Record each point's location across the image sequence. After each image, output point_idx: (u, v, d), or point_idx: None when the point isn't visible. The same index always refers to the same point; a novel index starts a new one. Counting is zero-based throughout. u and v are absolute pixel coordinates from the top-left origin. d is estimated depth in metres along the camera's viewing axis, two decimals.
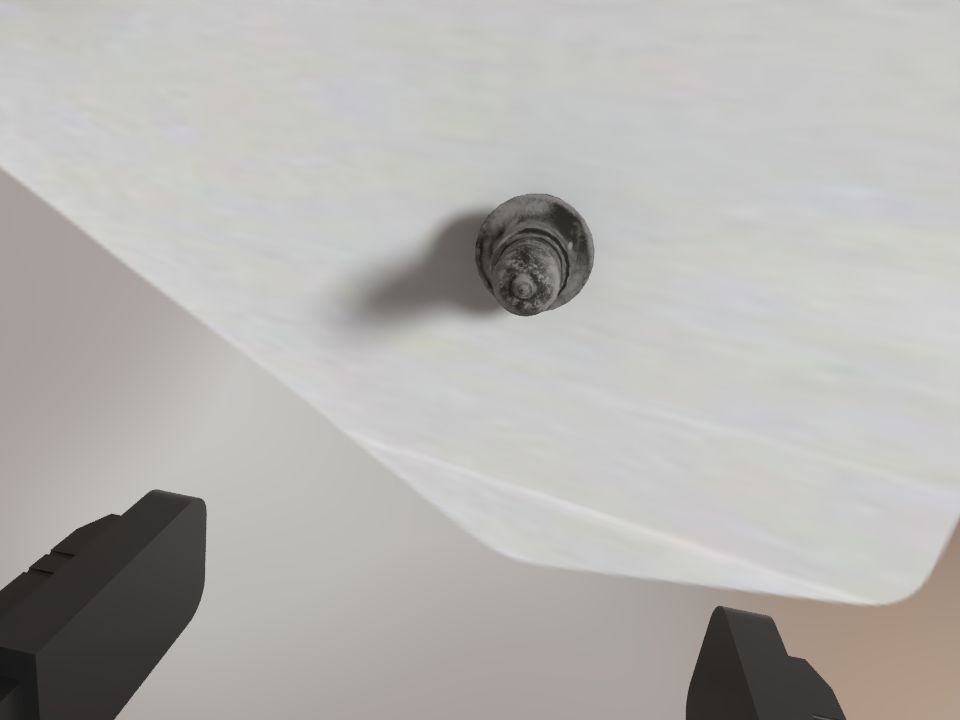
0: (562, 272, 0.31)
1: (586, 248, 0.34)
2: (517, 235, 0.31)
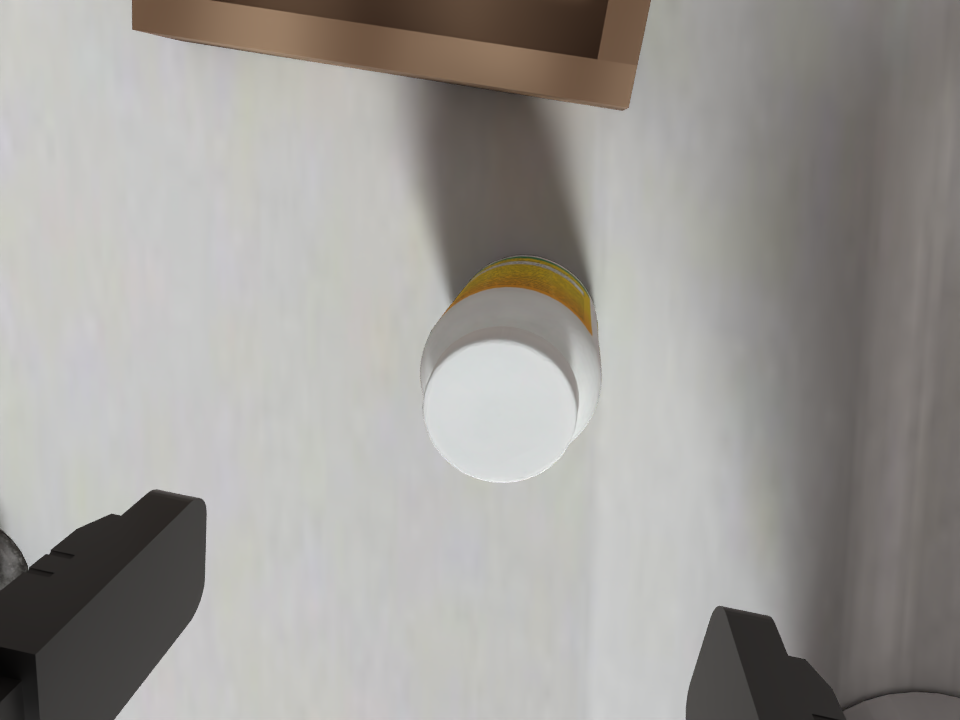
0: None
1: None
2: None
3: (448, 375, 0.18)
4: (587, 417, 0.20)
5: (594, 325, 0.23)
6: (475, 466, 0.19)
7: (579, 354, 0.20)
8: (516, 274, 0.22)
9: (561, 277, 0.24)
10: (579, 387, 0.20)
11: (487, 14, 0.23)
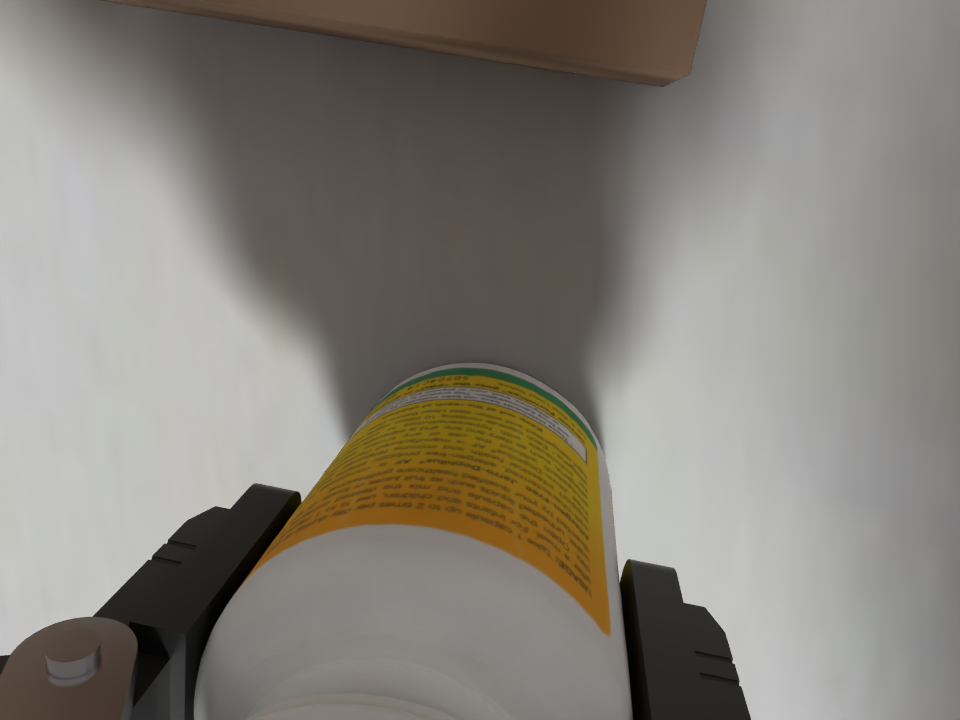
0: None
1: None
2: None
3: None
4: None
5: (610, 544, 0.11)
6: None
7: None
8: (437, 449, 0.10)
9: (540, 430, 0.12)
10: None
11: None
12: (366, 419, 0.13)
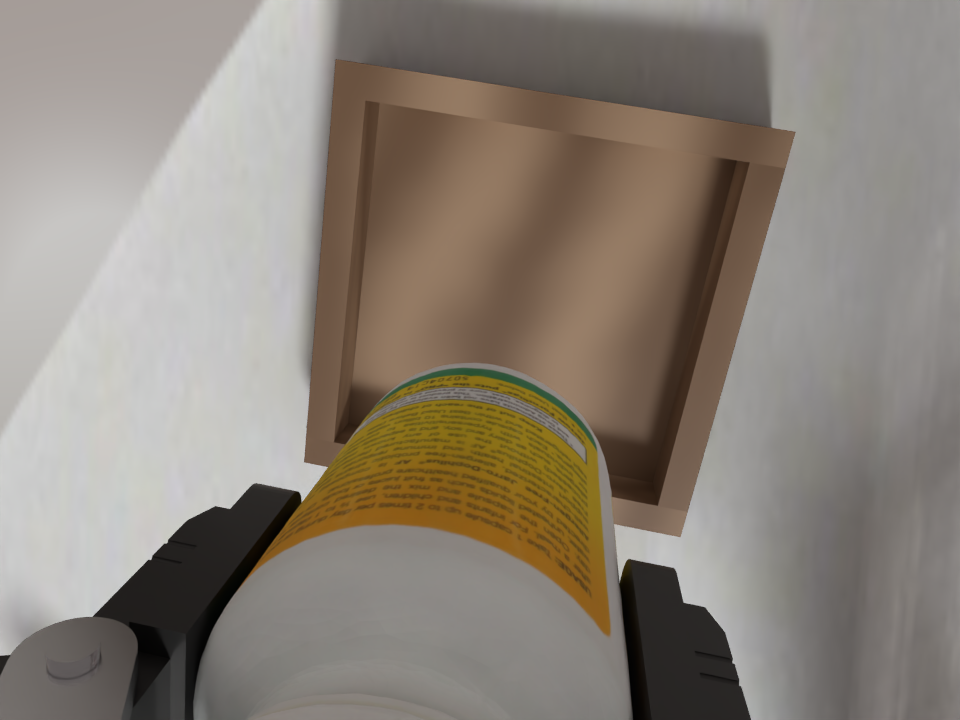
0: None
1: None
2: None
3: None
4: None
5: (609, 544, 0.11)
6: None
7: None
8: (437, 449, 0.10)
9: (540, 430, 0.12)
10: None
11: None
12: (366, 419, 0.13)
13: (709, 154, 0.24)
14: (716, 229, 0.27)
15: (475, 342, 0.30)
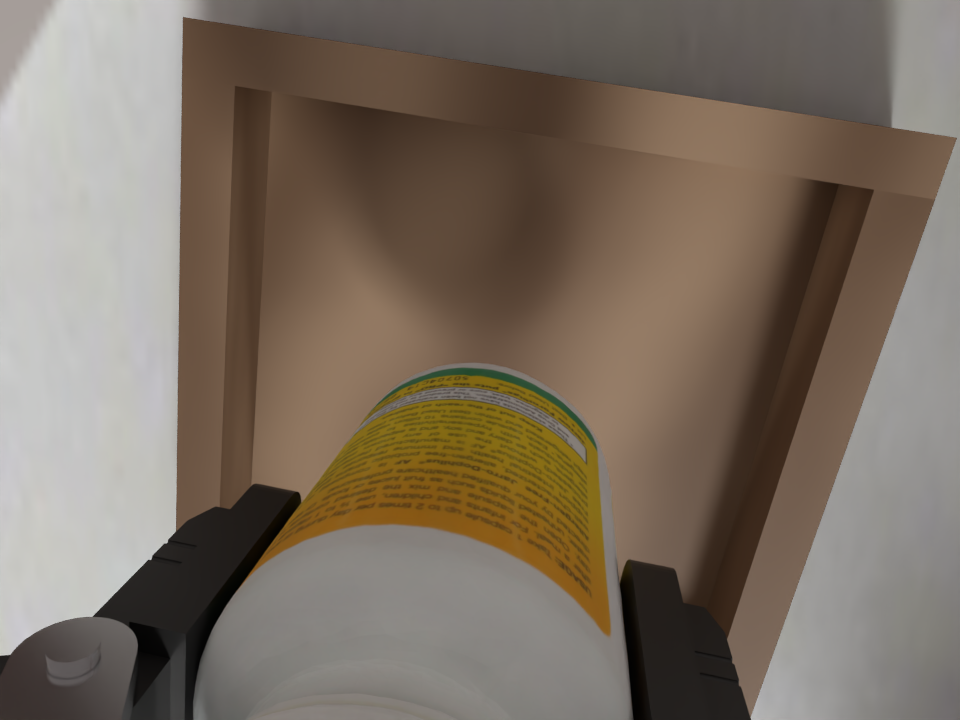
0: None
1: None
2: None
3: None
4: None
5: (610, 544, 0.11)
6: None
7: None
8: (437, 449, 0.10)
9: (540, 430, 0.12)
10: None
11: None
12: (366, 419, 0.13)
13: (805, 175, 0.14)
14: (802, 291, 0.17)
15: None
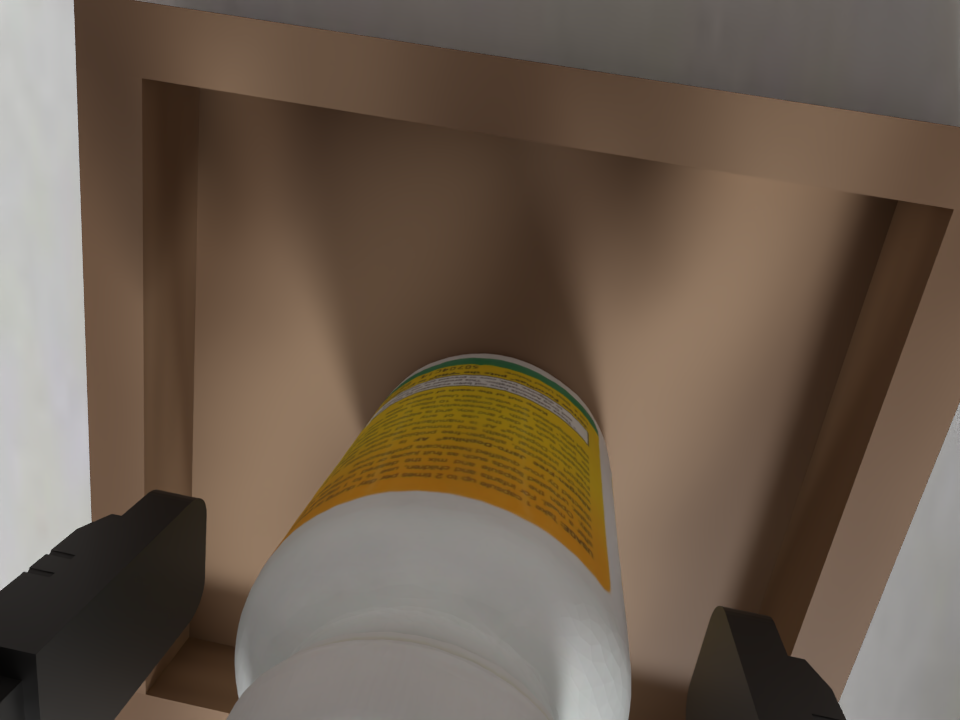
0: None
1: None
2: None
3: None
4: None
5: (610, 517, 0.12)
6: None
7: (583, 666, 0.08)
8: (452, 428, 0.11)
9: (545, 414, 0.12)
10: None
11: None
12: (383, 405, 0.14)
13: (865, 191, 0.11)
14: (849, 329, 0.14)
15: None
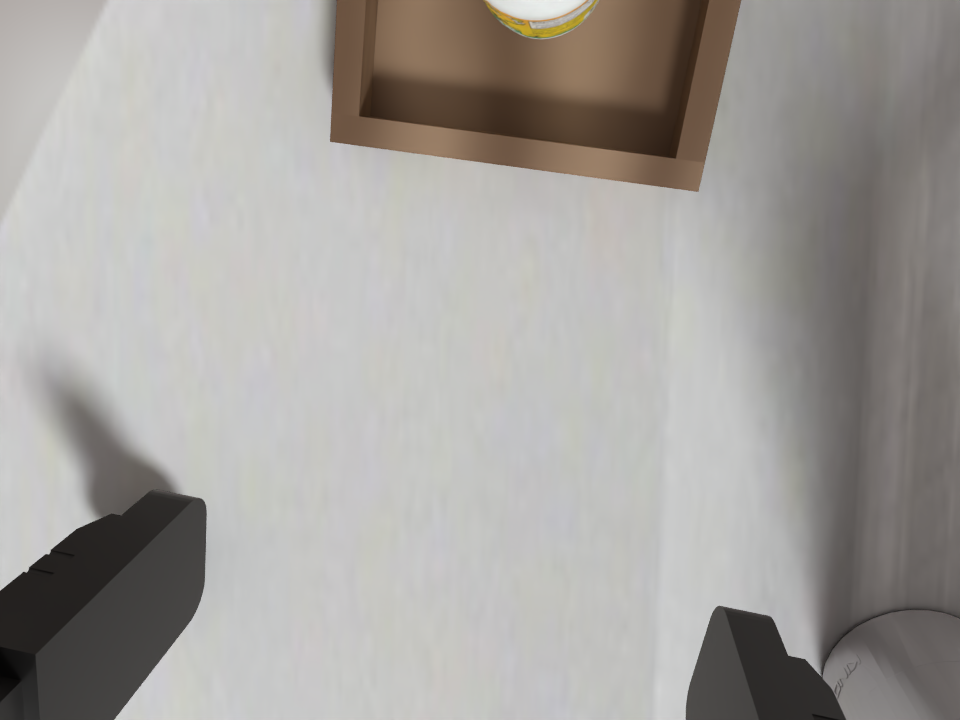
0: None
1: None
2: None
3: None
4: None
5: None
6: None
7: None
8: None
9: None
10: None
11: (588, 121, 0.31)
12: None
13: None
14: None
15: None
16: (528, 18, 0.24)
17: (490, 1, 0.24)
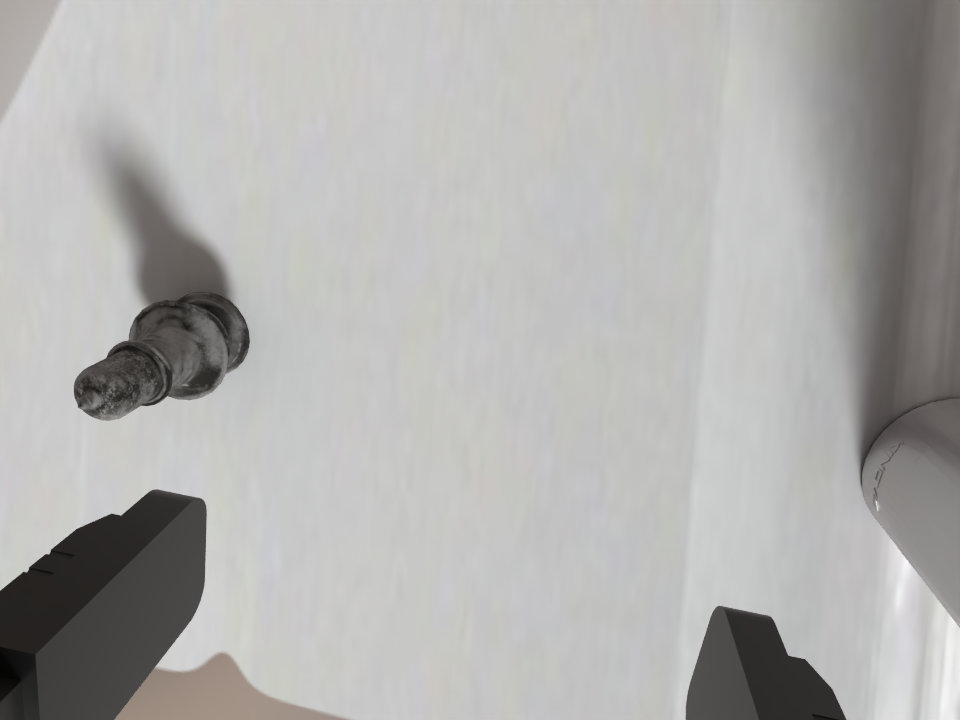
0: None
1: (188, 395, 0.41)
2: (162, 365, 0.36)
3: None
4: None
5: None
6: None
7: None
8: None
9: None
10: None
11: None
12: None
13: None
14: None
15: None
16: None
17: None
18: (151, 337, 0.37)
